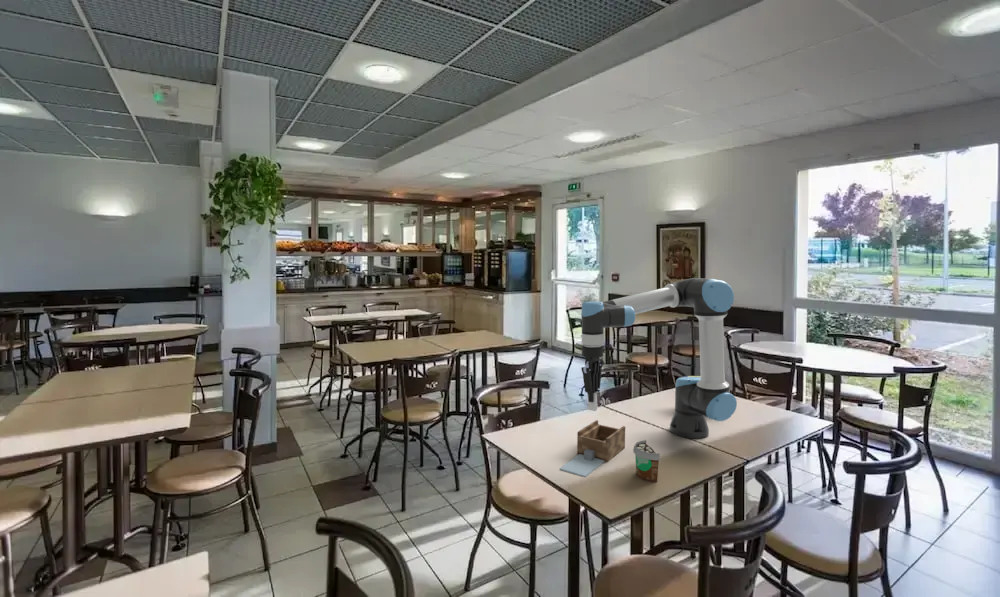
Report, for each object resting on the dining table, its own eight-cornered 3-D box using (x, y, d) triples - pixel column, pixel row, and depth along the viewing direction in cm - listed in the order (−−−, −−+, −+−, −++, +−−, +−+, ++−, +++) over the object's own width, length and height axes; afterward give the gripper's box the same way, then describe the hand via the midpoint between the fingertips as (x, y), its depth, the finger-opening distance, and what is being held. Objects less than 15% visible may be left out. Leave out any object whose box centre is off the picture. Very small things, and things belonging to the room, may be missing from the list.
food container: (627, 468, 170) (628, 440, 169) (644, 467, 170) (645, 439, 169) (640, 484, 158) (641, 454, 157) (659, 484, 158) (659, 454, 157)
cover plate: (579, 456, 181) (579, 446, 181) (604, 463, 175) (604, 452, 175) (559, 471, 169) (559, 459, 168) (585, 478, 163) (585, 467, 163)
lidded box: (596, 440, 195) (596, 420, 194) (624, 448, 187) (625, 426, 187) (577, 454, 182) (577, 431, 181) (607, 462, 175) (607, 439, 174)
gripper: (590, 341, 181) (591, 403, 183) (574, 347, 170) (574, 413, 173) (609, 343, 176) (609, 406, 179) (594, 349, 166) (594, 417, 168)
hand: (592, 409), depth 176 cm, fingers closed
